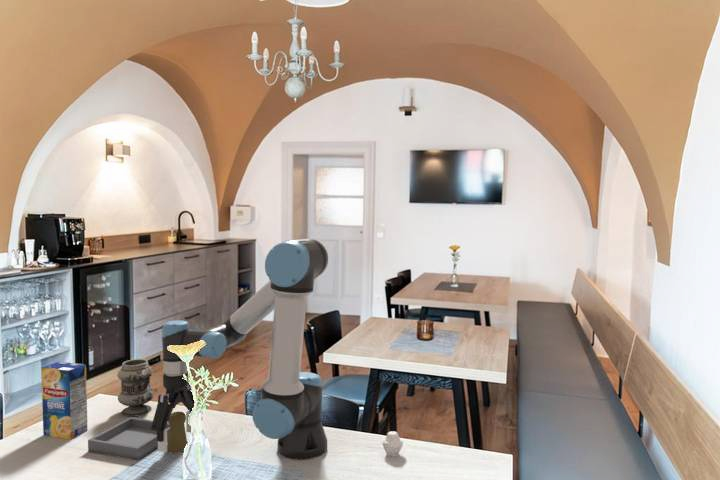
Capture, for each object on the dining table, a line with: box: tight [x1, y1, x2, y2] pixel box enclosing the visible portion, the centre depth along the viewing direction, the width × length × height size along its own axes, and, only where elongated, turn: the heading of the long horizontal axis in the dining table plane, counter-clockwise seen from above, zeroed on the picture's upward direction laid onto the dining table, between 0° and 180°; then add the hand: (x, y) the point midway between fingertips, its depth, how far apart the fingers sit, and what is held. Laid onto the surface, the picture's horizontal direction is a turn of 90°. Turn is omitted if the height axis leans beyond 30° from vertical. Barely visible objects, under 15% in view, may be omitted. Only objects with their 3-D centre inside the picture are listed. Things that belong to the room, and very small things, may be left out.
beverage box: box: [40, 361, 89, 440], centre depth 170 cm, size 7×11×22 cm, turn 74°
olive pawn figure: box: [167, 411, 188, 454], centre depth 160 cm, size 6×6×11 cm
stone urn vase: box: [116, 358, 155, 417], centre depth 188 cm, size 12×12×18 cm
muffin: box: [381, 431, 404, 458], centre depth 158 cm, size 6×6×7 cm
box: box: [87, 416, 170, 461], centre depth 164 cm, size 18×18×4 cm
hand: (177, 441), depth 160 cm, fingers open, 13 cm apart
